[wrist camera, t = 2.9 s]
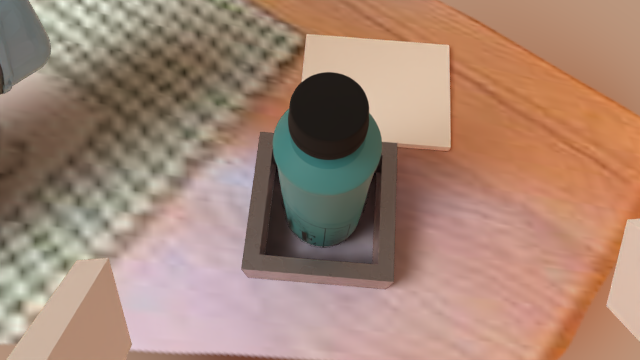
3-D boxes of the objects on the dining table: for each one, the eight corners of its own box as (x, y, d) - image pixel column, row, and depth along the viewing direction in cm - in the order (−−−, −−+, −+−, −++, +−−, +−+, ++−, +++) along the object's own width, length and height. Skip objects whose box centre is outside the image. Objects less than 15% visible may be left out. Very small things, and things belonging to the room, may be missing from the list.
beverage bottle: (370, 196, 42) (417, 68, 24) (343, 266, 40) (371, 186, 21) (302, 170, 43) (295, 25, 24) (272, 237, 41) (238, 136, 22)
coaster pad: (295, 138, 44) (295, 134, 43) (306, 38, 48) (306, 33, 47) (448, 151, 44) (450, 147, 43) (447, 49, 48) (449, 44, 47)
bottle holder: (247, 277, 40) (241, 269, 36) (264, 151, 44) (260, 131, 40) (385, 289, 40) (393, 281, 36) (389, 161, 44) (397, 142, 40)
